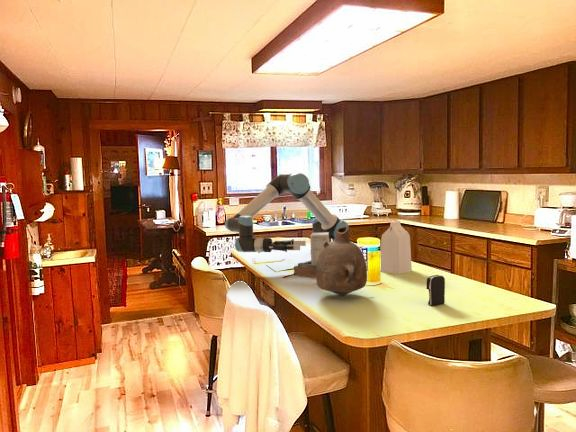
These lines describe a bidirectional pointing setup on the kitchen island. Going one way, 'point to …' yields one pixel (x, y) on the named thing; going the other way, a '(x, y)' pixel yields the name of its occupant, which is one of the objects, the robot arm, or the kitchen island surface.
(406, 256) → the milk
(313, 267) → the display riser
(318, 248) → the supplement box
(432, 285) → the battery charger
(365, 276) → the jug
